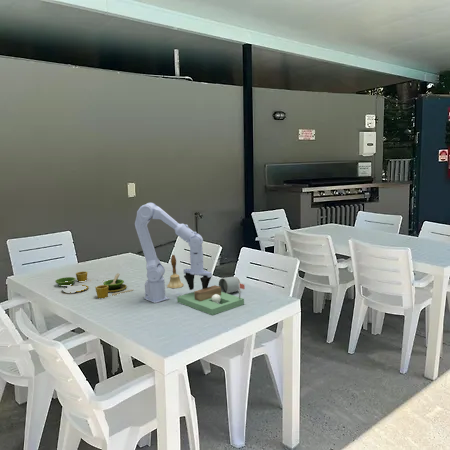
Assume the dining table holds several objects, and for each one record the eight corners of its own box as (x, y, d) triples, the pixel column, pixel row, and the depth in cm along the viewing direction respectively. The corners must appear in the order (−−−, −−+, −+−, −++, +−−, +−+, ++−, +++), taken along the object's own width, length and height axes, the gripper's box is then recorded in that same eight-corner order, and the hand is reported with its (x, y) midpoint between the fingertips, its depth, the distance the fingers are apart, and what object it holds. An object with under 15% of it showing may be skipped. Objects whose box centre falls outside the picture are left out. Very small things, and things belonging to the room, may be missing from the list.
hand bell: (167, 289, 216) (165, 257, 214) (166, 284, 225) (164, 253, 222) (184, 287, 218) (182, 256, 216) (182, 283, 226) (181, 252, 224)
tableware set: (136, 292, 215) (135, 279, 214) (81, 305, 198) (80, 292, 197) (100, 276, 247) (99, 265, 246) (50, 286, 229) (49, 274, 228)
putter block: (194, 299, 192) (194, 291, 191) (215, 292, 200) (215, 285, 199) (200, 301, 189) (200, 293, 188) (221, 294, 197) (221, 287, 196)
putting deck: (177, 302, 197) (176, 281, 195) (208, 292, 208) (207, 273, 207) (215, 316, 178) (214, 293, 176) (247, 305, 189) (246, 284, 188)
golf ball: (216, 303, 187) (211, 305, 190) (223, 300, 190) (218, 303, 193) (213, 294, 188) (208, 296, 191) (220, 292, 191) (215, 294, 193)
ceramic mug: (241, 292, 207) (241, 276, 206) (227, 296, 203) (227, 279, 201) (228, 287, 216) (227, 272, 215) (214, 291, 211) (214, 275, 210)
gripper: (178, 261, 198) (180, 290, 200) (204, 265, 190) (205, 295, 192) (188, 258, 204) (189, 286, 206) (214, 261, 196) (215, 291, 198)
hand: (198, 290), depth 199 cm, fingers open, 7 cm apart
